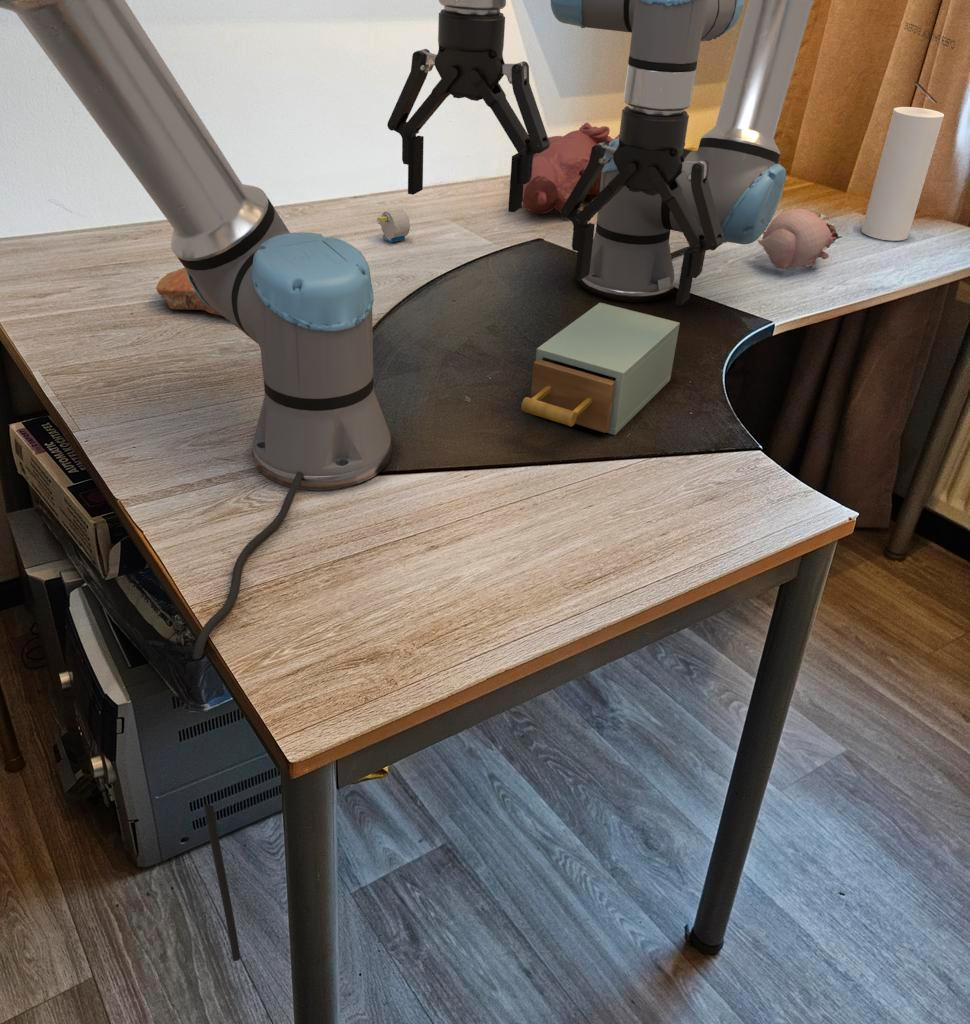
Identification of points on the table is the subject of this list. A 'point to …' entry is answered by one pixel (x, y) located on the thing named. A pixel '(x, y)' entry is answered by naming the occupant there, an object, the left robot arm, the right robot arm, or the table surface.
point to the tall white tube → (902, 168)
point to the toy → (798, 238)
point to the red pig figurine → (562, 168)
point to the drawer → (570, 395)
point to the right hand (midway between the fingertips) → (631, 289)
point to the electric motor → (394, 225)
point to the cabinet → (619, 354)
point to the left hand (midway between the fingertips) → (464, 200)
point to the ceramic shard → (181, 292)
